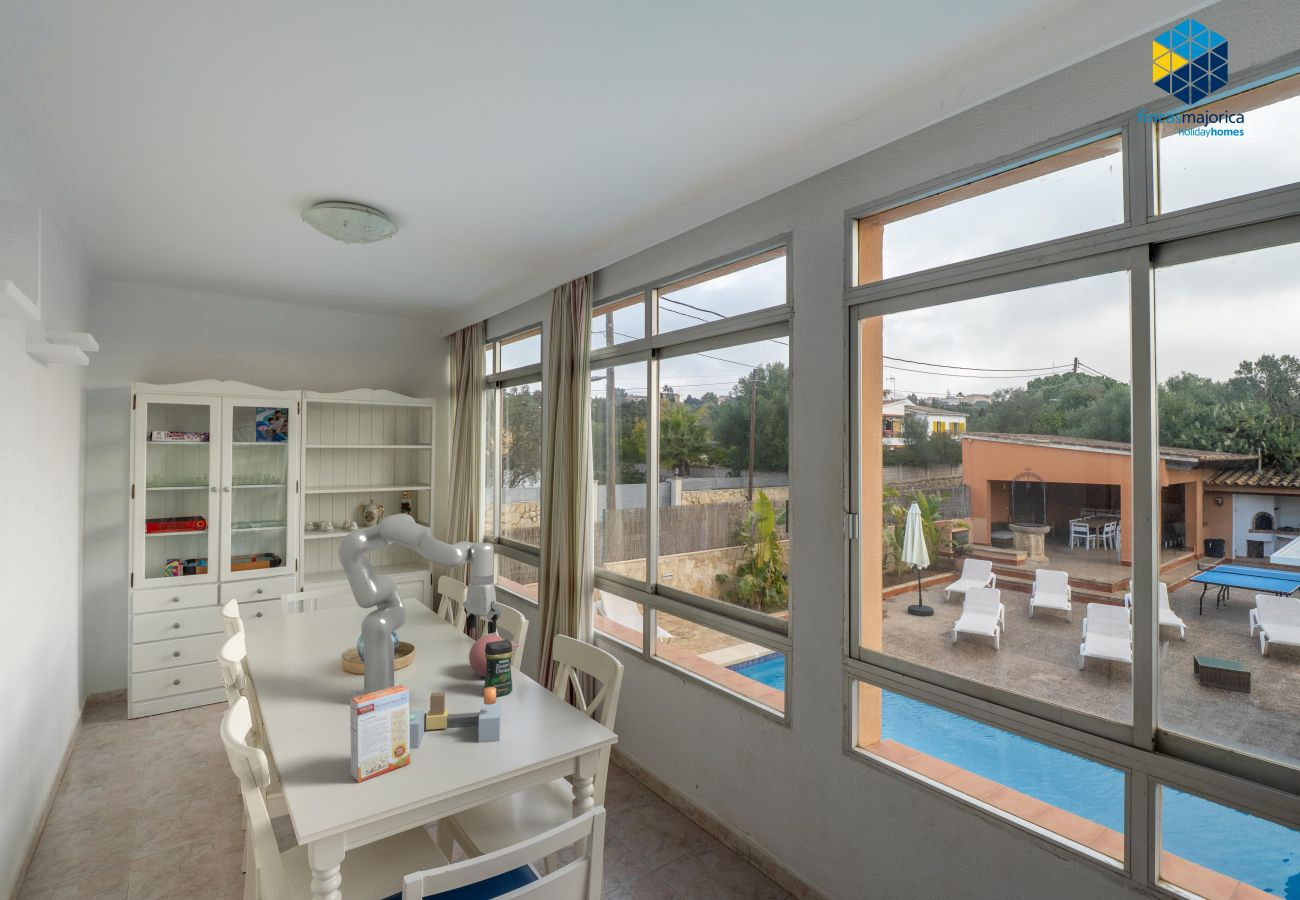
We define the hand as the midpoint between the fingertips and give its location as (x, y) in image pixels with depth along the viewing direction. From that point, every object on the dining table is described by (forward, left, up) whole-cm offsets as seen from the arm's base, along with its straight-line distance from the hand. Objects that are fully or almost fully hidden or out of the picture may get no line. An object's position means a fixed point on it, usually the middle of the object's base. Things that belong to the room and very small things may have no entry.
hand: (481, 630), depth 209 cm
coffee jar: (+5, +11, -26) cm, 29 cm away
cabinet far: (+4, -21, -26) cm, 34 cm away
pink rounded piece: (+3, +30, -26) cm, 40 cm away
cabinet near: (-19, -21, -26) cm, 39 cm away
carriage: (-12, -13, -26) cm, 31 cm away
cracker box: (-24, -37, -26) cm, 51 cm away
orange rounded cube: (+4, -22, -16) cm, 27 cm away
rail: (-7, -13, -26) cm, 30 cm away
